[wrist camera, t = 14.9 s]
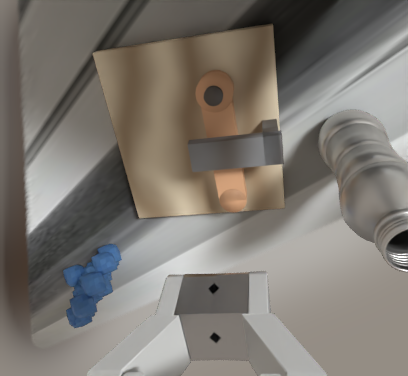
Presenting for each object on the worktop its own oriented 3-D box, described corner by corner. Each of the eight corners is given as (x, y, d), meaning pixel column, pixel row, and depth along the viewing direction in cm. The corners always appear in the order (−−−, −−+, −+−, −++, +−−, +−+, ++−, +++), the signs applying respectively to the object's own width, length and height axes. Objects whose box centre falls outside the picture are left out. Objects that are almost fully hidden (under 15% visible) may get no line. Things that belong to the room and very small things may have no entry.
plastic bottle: (356, 170, 42) (426, 303, 25) (302, 145, 41) (336, 265, 24) (392, 120, 39) (502, 233, 22) (335, 92, 38) (401, 187, 21)
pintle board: (272, 23, 36) (275, 31, 30) (284, 201, 45) (287, 231, 40) (97, 50, 39) (72, 62, 34) (142, 211, 48) (128, 240, 43)
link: (195, 73, 37) (191, 78, 35) (231, 67, 36) (229, 72, 35) (220, 204, 44) (219, 214, 42) (251, 201, 43) (250, 211, 42)
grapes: (94, 210, 49) (51, 272, 39) (141, 232, 50) (111, 298, 40) (71, 268, 55) (28, 336, 44) (113, 287, 56) (81, 357, 45)
